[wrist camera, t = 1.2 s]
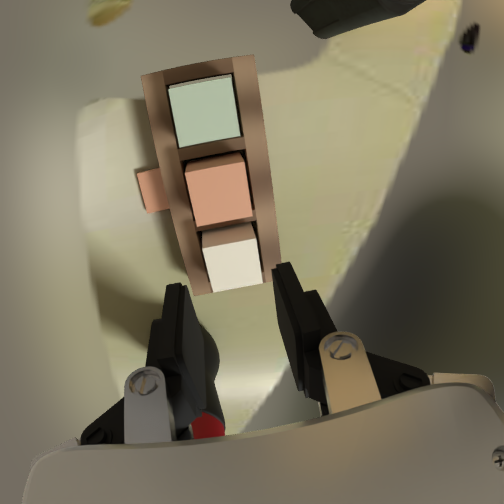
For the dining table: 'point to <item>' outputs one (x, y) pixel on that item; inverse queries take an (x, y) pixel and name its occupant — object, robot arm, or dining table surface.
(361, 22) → the candle
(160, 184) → the tile
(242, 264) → the cream button
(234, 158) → the terracotta button
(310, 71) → the dining table surface
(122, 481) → the robot arm
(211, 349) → the cola bottle
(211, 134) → the sage button
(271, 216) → the walnut console
